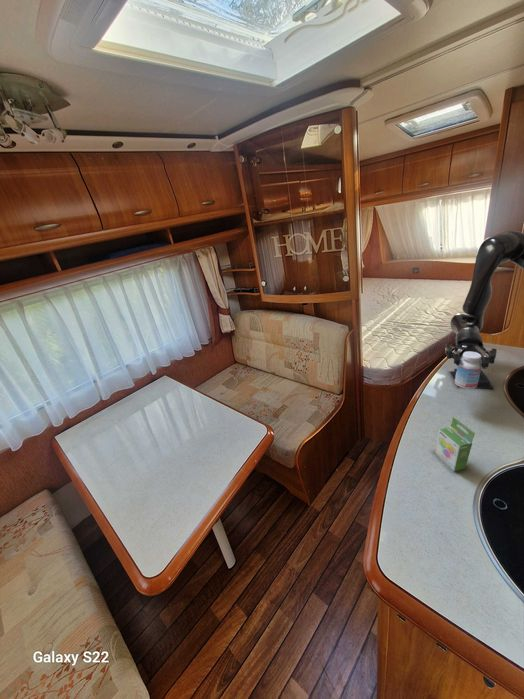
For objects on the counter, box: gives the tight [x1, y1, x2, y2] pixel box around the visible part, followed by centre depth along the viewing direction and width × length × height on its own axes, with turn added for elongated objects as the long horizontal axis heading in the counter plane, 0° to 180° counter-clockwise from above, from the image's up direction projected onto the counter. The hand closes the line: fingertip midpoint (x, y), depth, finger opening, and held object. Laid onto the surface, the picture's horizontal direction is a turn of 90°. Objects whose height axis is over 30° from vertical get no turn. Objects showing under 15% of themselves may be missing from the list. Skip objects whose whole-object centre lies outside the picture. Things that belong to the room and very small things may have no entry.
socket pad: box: [449, 368, 494, 390], centre depth 107 cm, size 11×11×3 cm
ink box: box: [435, 416, 476, 473], centre depth 75 cm, size 7×4×13 cm, turn 10°
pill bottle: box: [454, 351, 482, 390], centre depth 87 cm, size 6×6×11 cm
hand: (471, 364), depth 84 cm, fingers closed on pill bottle, 6 cm apart
